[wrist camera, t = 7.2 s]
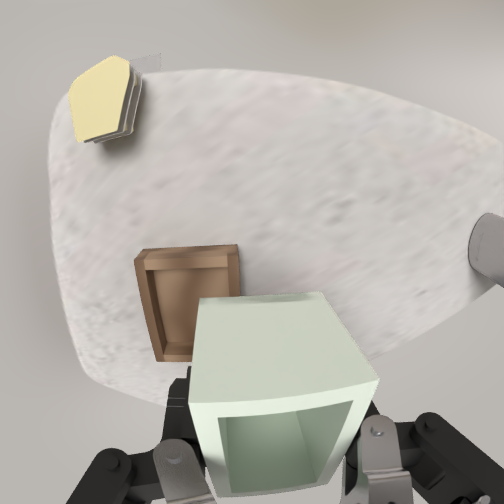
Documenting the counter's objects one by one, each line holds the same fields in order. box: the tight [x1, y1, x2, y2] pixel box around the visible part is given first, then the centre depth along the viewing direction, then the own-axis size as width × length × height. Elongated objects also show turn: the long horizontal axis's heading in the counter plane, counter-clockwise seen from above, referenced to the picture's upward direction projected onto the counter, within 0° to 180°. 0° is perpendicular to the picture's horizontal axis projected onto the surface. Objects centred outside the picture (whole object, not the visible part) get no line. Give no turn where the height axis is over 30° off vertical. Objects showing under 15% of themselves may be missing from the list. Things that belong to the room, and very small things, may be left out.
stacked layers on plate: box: [69, 53, 162, 143], centre depth 19 cm, size 10×9×6 cm
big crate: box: [134, 244, 240, 362], centre depth 27 cm, size 10×12×3 cm
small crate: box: [188, 291, 380, 497], centre depth 9 cm, size 5×7×5 cm, turn 0°
